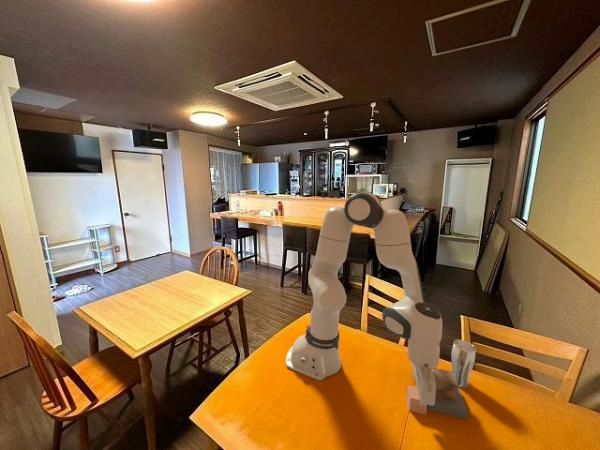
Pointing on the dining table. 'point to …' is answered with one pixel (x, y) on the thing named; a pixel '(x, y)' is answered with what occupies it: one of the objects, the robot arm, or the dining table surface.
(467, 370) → the beer glass
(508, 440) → the dining table surface
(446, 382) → the walnut cube
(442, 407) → the plinth
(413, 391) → the terracotta cube
